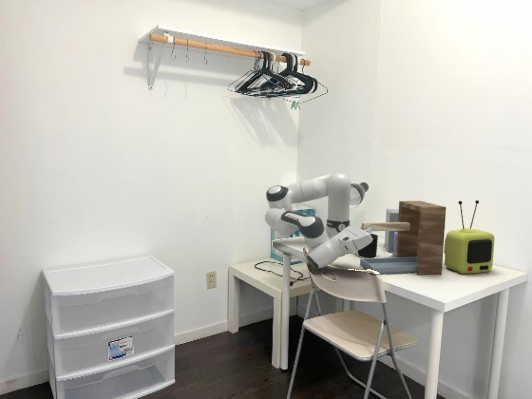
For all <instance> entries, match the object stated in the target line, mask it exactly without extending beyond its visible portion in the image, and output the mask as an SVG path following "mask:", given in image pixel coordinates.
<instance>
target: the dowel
mask: <svg viewBox="0 0 532 399" xmlns="http://www.w3.org/2000/svg"><path fill="white" fill-rule="evenodd" d="M371 225H373V226H374V227H375V230H374V231H373V232H385V231H405V230H410V223H408V222H387V223H386V222H362V223H361V226H362V230H367V229H368V228H369V227H370V226H371Z"/></svg>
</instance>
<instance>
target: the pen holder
mask: <svg viewBox="0 0 532 399" xmlns="http://www.w3.org/2000/svg"><path fill="white" fill-rule="evenodd" d="M370 235H371V237H372V239H373V241H372V242H371V243H370V244H368V245H367V246H365V247H364V248H362V249H360V250H357V251H358V252H357V255H358V256H359V257H361V258H377V257H376V256H377V254H378V253H377V252H378V240H379V235H377V234H376V233H375V234H374V233H370Z"/></svg>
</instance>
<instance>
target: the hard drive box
mask: <svg viewBox="0 0 532 399" xmlns="http://www.w3.org/2000/svg"><path fill="white" fill-rule="evenodd" d="M385 211H386V212H385V223H387V222H398V214H399V208H386V209H385ZM393 232H398V231H384V233H385V234H384V246H385V249H386V250H387V252H388V253H393Z"/></svg>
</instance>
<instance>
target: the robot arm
mask: <svg viewBox="0 0 532 399" xmlns="http://www.w3.org/2000/svg"><path fill="white" fill-rule="evenodd" d="M351 185H352V184H351V178H350V177H349V175H348V174H347V173H346V172H345V171H335V172H332V173H327V174H324V175H321V176H317V177H313V178H309V179H305V180H301V181H297V182H295V183H291V184H289V185H287V186H284V185H280V184H279V185H272V186H271V187H269V188H268V189H267V190H266V195H265V197H266V198H265V199H266V201H267V203H268V206H269V209H268V210H267V211H266V212H265V215H264V220H265V223H266V224H267V225H268V226H269V227H270V229H271V230H273V231H275V232H277V233H278V234H279V235H282V236H286V237H287V236H288V237H289V236H291V235H293V234H295V233H296V231H297V230H298V229H299V232H300V234H301V235H302V237H303V238H304V241H305V242H306V244H307V254H306V259H307V260H308V262H309V263H310V264H311V266H312V267H313V268H315V269H317V270H318V269H322V268H325V267H326V266H325V265H327V266H329V265H331V264H332V263H334V262H336V260H337V259H338V258H341V257H344V256H346V255H356V254H358V250H360V249H362V248H364V247H365V246H367V245H368V244H370V243H371V242H372V241H373V239H372V237H371V235H370V234H372V232H375V231H374V230H375V227H374V226H373V225H371V226H370V227H369V228H368V229H367V230H362V225H360V226H356V225H355V224H351V222H350V221H351V220H350V207H351V206H350V204H351ZM322 198H327V202H328V203H327V219H326V222H325V226H324V223H323V220H322V219H321V218H320V216H316V215H307V214H302V213H300V212H297V211H294V210H293V205H294V204H301V203H305V202H311V201H315V200H319V199H322Z"/></svg>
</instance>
